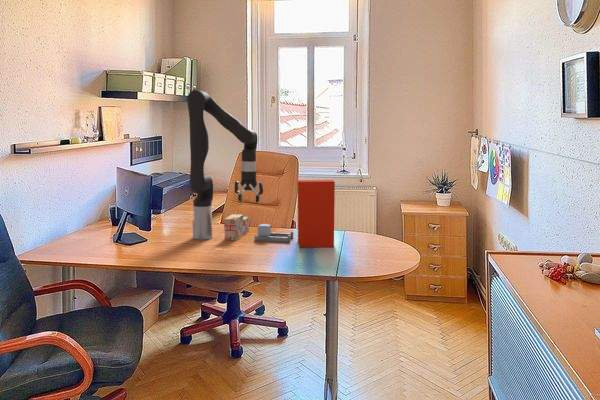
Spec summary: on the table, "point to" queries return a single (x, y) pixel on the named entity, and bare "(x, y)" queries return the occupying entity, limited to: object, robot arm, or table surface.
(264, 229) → the block
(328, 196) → the file binder
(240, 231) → the white product box
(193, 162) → the robot arm
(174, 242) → the table surface
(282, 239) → the chute
